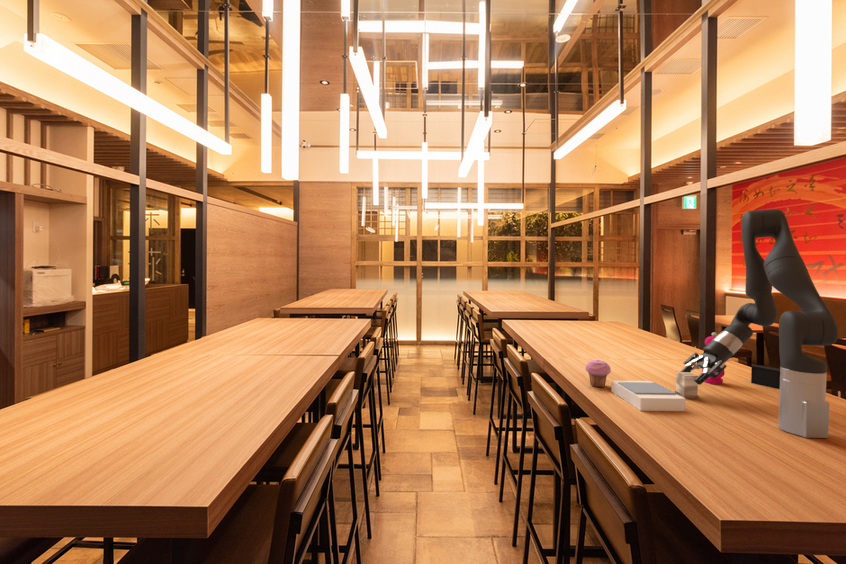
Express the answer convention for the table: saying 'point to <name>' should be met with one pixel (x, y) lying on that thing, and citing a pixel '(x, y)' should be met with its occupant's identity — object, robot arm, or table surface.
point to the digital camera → (765, 376)
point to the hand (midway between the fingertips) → (688, 379)
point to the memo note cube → (686, 385)
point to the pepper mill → (718, 379)
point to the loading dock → (648, 396)
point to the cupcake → (598, 372)
